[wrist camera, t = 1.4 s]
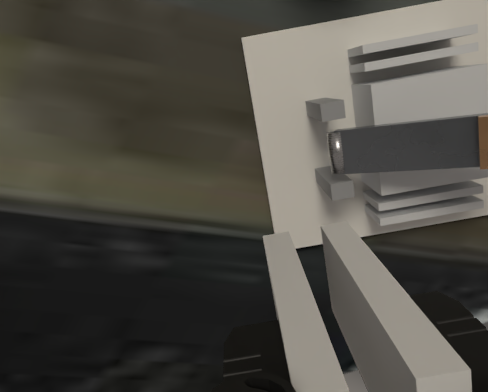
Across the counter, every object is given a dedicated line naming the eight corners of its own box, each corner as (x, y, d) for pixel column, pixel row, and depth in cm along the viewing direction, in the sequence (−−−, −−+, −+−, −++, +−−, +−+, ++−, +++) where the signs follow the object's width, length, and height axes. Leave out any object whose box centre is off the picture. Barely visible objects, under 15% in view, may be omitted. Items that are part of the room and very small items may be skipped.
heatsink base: (276, 247, 38) (289, 295, 30) (241, 39, 34) (244, 23, 25) (542, 201, 38) (634, 235, 29) (542, -17, 33) (652, -54, 25)
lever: (334, 171, 30) (327, 177, 29) (329, 129, 30) (322, 133, 28) (584, 156, 23) (590, 164, 22) (586, 101, 22) (593, 105, 21)
